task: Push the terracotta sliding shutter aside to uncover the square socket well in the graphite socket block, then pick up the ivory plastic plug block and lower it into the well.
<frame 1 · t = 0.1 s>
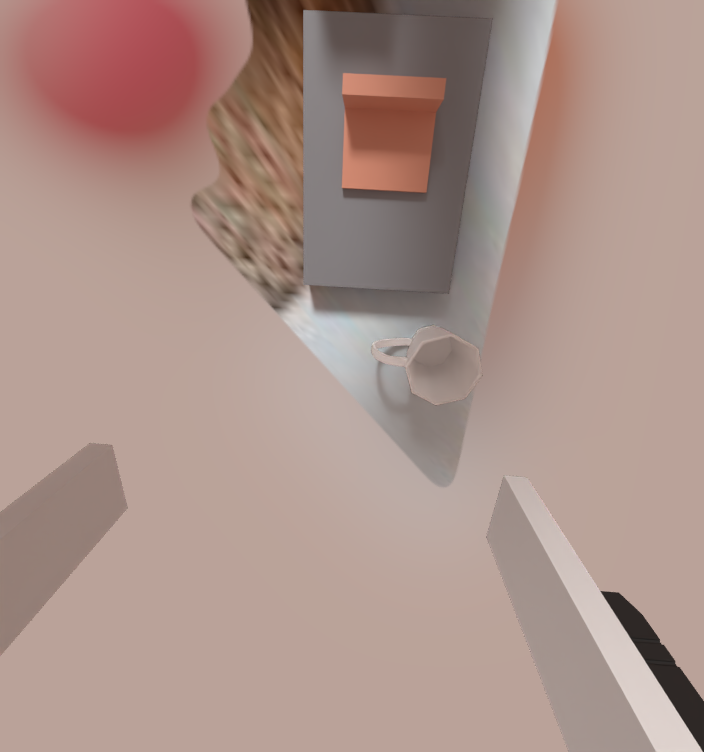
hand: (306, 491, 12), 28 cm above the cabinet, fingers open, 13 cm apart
cup: (415, 342, 39), on the cabinet
socket: (383, 174, 33), on the cabinet
shutter: (388, 136, 27), point 5 cm above the cabinet, slide at 0.0 cm
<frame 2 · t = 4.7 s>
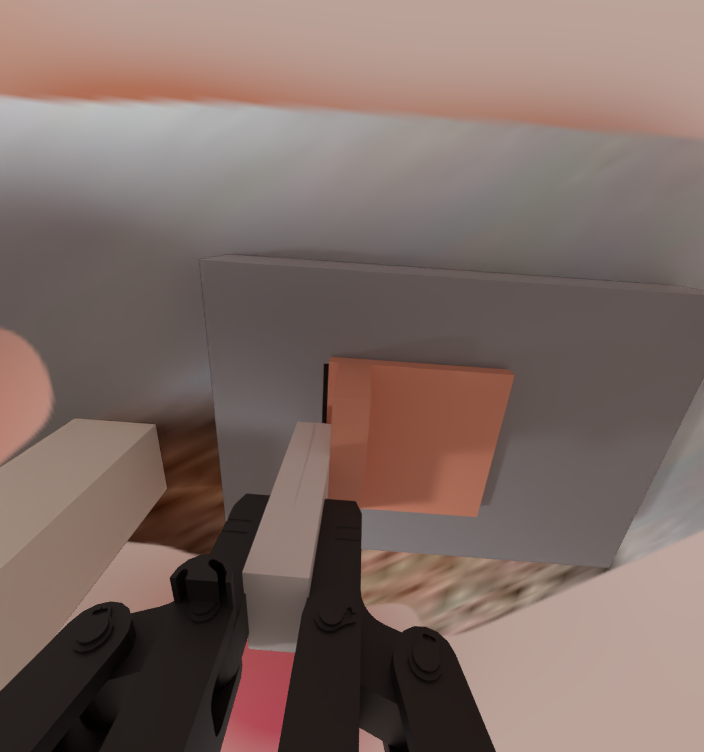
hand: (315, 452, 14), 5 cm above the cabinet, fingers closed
plug: (123, 455, 20), on the cabinet
socket: (427, 408, 18), on the cabinet
shutter: (413, 464, 14), point 5 cm above the cabinet, slide at 0.6 cm, touching gripper
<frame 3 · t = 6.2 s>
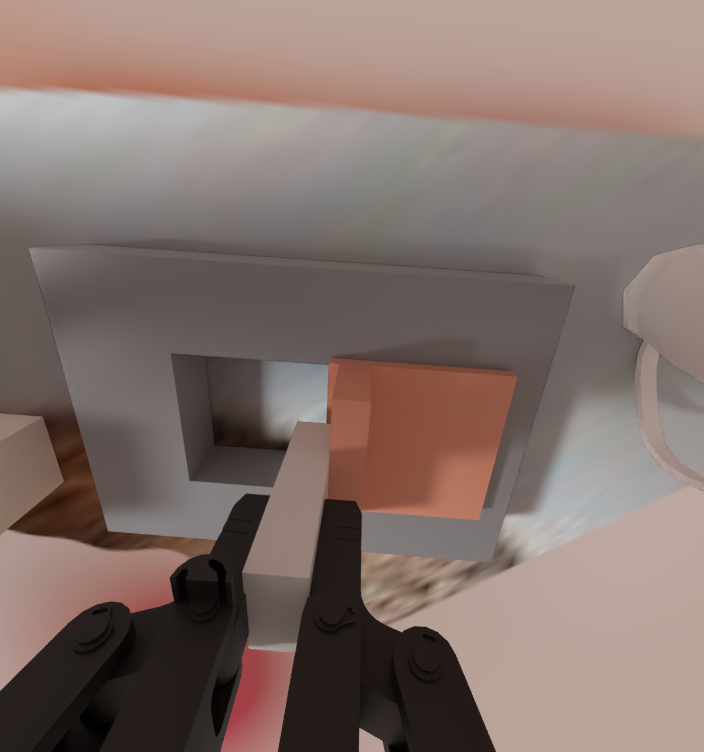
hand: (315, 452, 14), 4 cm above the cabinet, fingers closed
plug: (15, 447, 20), on the cabinet
cup: (653, 328, 16), on the cabinet
socket: (308, 400, 18), on the cabinet
shutter: (414, 466, 14), point 5 cm above the cabinet, slide at 6.9 cm, touching gripper
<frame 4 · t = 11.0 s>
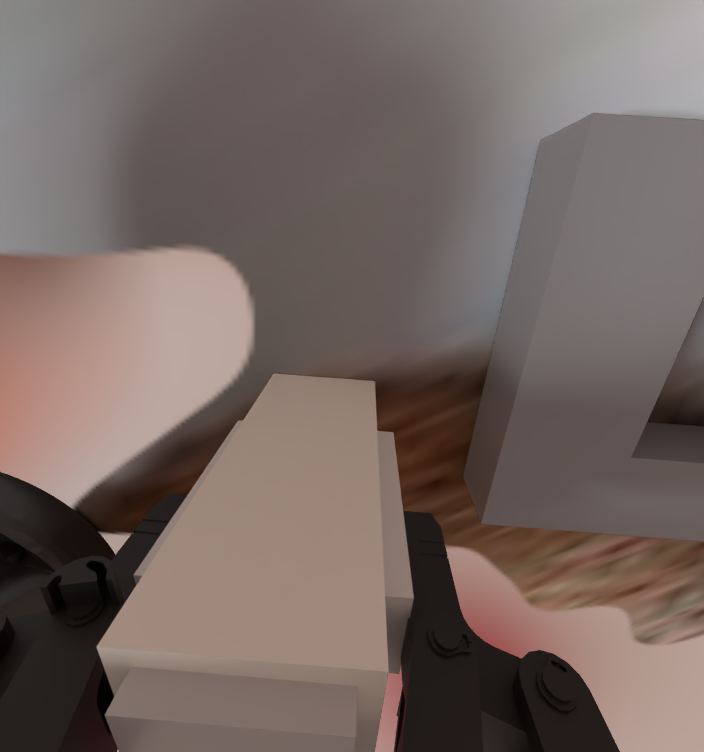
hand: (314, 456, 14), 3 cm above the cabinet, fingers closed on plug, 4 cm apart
plug: (322, 421, 16), on the cabinet, touching gripper
when the fingers open (5 cm above the cabinet, at t = 16.3 s): plug drops 2 cm, resting in socket.
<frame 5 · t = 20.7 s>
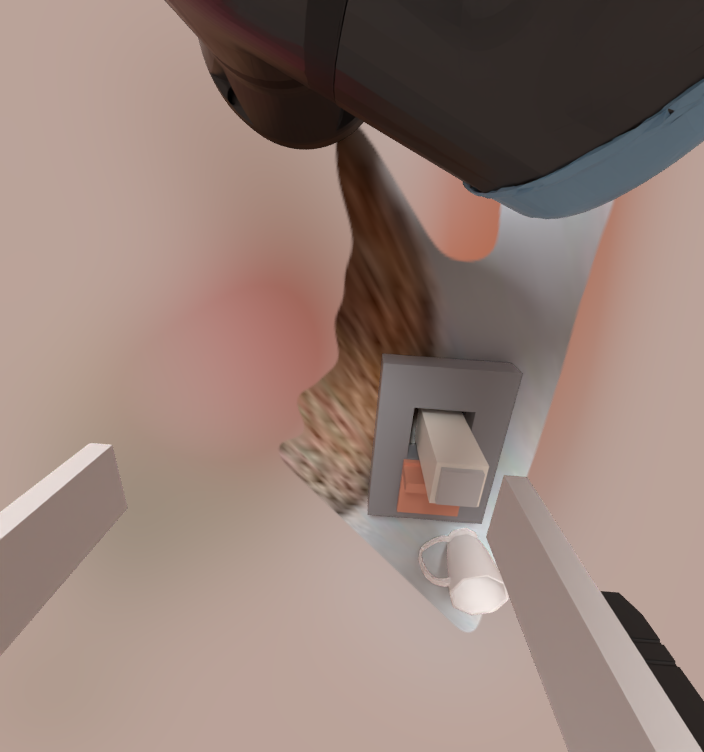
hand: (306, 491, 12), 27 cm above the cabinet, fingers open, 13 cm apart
plug: (436, 422, 41), resting in socket
cup: (451, 537, 48), on the cabinet
socket: (432, 436, 42), on the cabinet
shutter: (433, 497, 39), point 5 cm above the cabinet, slide at 6.9 cm
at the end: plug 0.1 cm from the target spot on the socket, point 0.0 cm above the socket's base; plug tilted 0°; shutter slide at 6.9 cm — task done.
